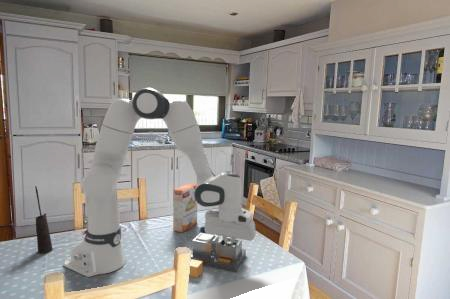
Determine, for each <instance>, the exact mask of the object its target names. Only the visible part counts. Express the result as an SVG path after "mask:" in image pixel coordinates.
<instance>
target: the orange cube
mask: <svg viewBox="0 0 450 299" xmlns="http://www.w3.org/2000/svg"><path fill="white" fill-rule="evenodd" d="M203 268H204V265H203V261H198V260H193V259H191V262H190V274H189V277H193V276H195V277H194V278H198V277H199V276H200V275H201V274H202V273H203Z"/></svg>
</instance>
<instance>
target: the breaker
mask: <svg viewBox="0 0 450 299" xmlns="http://www.w3.org/2000/svg"><path fill="white" fill-rule="evenodd" d="M213 239H214V235H208V234H202V235H201V236H200V237H199V238H198V241H203V242H209V243H210V242H211V241H212V240H213Z"/></svg>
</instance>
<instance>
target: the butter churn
mask: <svg viewBox="0 0 450 299" xmlns="http://www.w3.org/2000/svg"><path fill="white" fill-rule="evenodd" d="M34 188H35V194H36V199H37V204H38V212H39V215H38V216H35V234H36V239H37V240H36V242H37V253H38V252H39V253H38V254H47V253H50V252H51V251H53V249H54V248H53V243H52V238H51V233H50V228H49V223H48V218H47V213H46V212H45V213H44V214H42V209H41V204H40V199H39V198H40V197H39V192H38V191H39V190H38V188H37V185H35V186H34ZM50 250H51V251H50Z"/></svg>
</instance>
